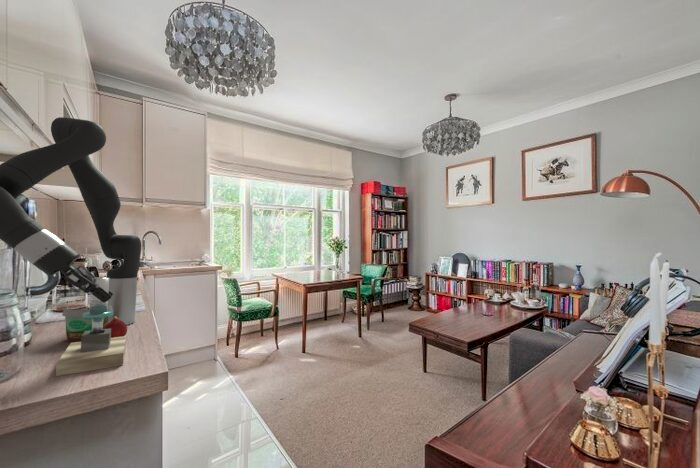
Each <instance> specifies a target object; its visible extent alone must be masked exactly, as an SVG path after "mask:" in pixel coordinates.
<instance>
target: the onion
mask: <svg viewBox="0 0 700 468" xmlns="http://www.w3.org/2000/svg"><path fill="white" fill-rule="evenodd" d="M109 328H111V338H115V337H123V336H126V335H127V333H128V326H127V325H126V324H125V323H124V322H123V321H122V320H119V319H118V318H117V317H116V316H115V317H114V319H113V320H112V321H111V322H109V323H108V324H107V325H106V326H105V327H104V329H109Z"/></svg>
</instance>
